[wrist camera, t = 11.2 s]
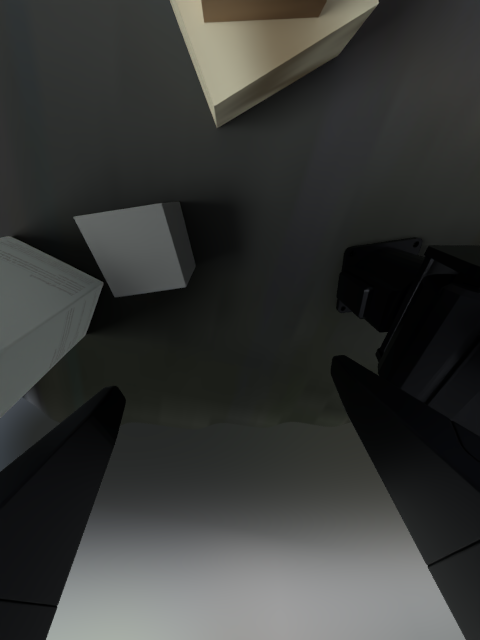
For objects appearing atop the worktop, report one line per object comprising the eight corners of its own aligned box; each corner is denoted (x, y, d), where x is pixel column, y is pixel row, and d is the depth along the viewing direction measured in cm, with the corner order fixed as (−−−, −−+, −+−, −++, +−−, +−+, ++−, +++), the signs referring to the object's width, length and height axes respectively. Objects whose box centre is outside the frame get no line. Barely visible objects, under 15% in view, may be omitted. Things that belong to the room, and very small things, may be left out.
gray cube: (179, 201, 15) (161, 203, 11) (195, 265, 18) (186, 287, 14) (115, 211, 15) (73, 216, 11) (141, 273, 18) (114, 297, 14)
